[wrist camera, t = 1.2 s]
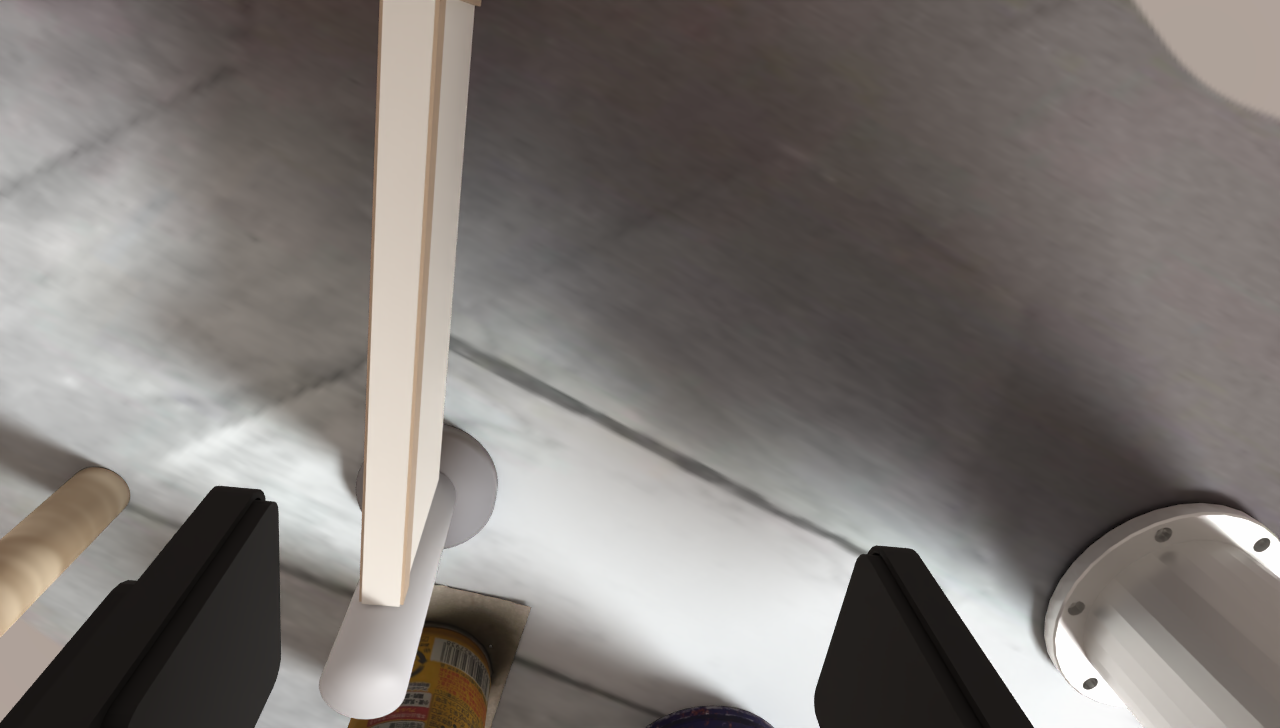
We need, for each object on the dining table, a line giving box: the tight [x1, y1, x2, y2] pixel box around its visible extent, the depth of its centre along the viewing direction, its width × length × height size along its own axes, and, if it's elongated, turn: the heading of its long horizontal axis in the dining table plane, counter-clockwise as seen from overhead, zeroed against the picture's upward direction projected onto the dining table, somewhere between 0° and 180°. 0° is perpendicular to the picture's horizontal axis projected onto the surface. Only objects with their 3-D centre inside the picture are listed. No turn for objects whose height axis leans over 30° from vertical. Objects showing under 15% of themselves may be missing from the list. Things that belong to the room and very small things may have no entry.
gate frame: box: [0, 424, 498, 637], centre depth 25 cm, size 18×28×12 cm, turn 171°
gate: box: [319, 0, 481, 719], centre depth 25 cm, size 23×3×11 cm, turn 171°
